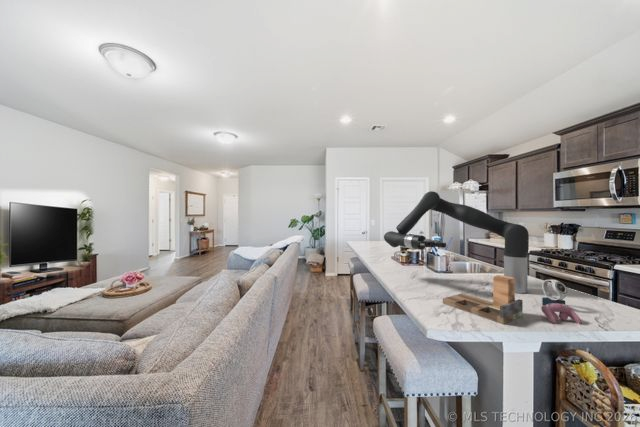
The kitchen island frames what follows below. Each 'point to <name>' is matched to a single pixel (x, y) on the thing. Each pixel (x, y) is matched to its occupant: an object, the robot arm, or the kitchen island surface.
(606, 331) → the kitchen island surface
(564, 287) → the watch
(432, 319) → the kitchen island surface
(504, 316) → the board
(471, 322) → the kitchen island surface
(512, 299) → the block
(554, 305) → the pink arched figurine
